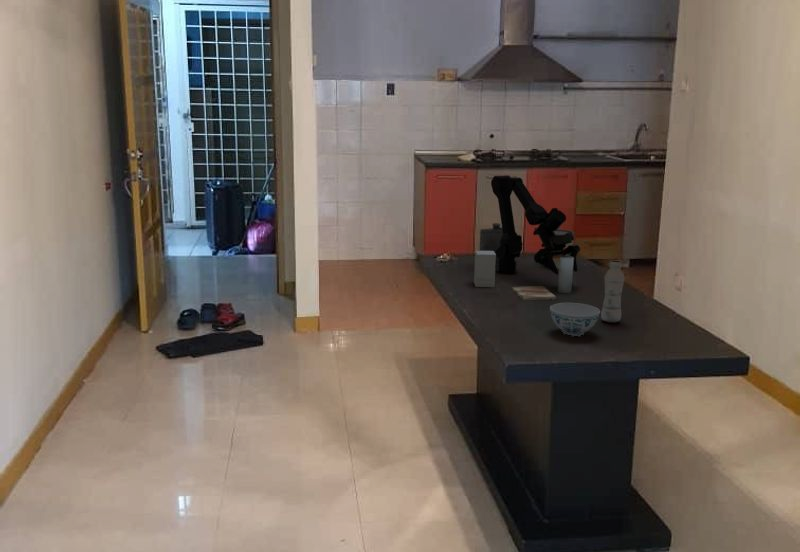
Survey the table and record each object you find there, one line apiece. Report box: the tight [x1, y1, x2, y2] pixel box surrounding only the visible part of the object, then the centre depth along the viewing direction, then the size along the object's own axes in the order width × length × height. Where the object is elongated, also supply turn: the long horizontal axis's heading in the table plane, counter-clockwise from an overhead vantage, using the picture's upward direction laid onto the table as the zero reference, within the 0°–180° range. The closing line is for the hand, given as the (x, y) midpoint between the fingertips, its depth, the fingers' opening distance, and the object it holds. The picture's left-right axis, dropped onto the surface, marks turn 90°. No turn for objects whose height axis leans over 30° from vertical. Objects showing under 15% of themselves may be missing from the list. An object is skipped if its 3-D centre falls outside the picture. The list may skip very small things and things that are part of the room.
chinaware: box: [549, 302, 601, 337], centre depth 241 cm, size 15×15×8 cm
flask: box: [478, 222, 503, 267], centre depth 327 cm, size 4×14×18 cm, turn 106°
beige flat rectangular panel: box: [511, 285, 557, 301], centre depth 286 cm, size 15×12×1 cm
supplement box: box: [473, 250, 496, 288], centre depth 297 cm, size 7×7×13 cm
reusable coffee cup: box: [543, 228, 575, 269], centre depth 327 cm, size 13×13×15 cm
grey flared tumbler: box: [557, 256, 574, 294], centre depth 289 cm, size 5×5×13 cm
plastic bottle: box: [600, 259, 626, 323], centre depth 252 cm, size 6×7×20 cm
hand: (567, 272), depth 288 cm, fingers open, 9 cm apart
